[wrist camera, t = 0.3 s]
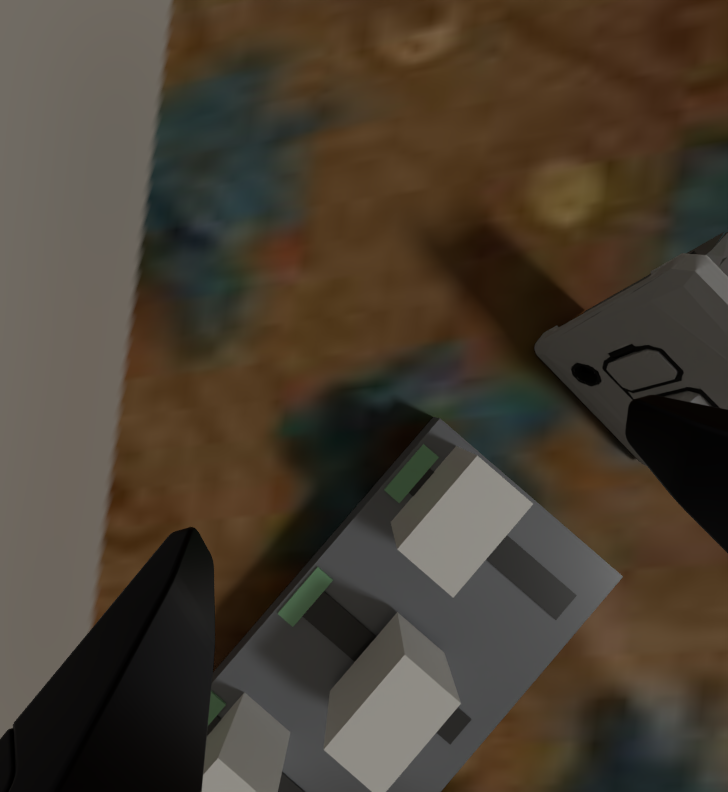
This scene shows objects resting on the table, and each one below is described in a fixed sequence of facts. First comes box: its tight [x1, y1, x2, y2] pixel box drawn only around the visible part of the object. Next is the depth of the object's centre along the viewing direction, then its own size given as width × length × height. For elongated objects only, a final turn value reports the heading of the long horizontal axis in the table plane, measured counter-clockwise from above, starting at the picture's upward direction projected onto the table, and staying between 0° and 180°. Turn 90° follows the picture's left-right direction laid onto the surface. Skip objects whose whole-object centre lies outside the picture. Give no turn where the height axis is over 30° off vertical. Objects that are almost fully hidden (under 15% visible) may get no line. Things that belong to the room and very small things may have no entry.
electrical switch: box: [534, 232, 728, 466], centre depth 19 cm, size 9×5×9 cm, turn 44°
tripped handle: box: [324, 612, 461, 792], centre depth 19 cm, size 3×5×4 cm, turn 139°
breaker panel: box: [202, 417, 623, 792], centre depth 20 cm, size 12×22×6 cm, turn 139°
